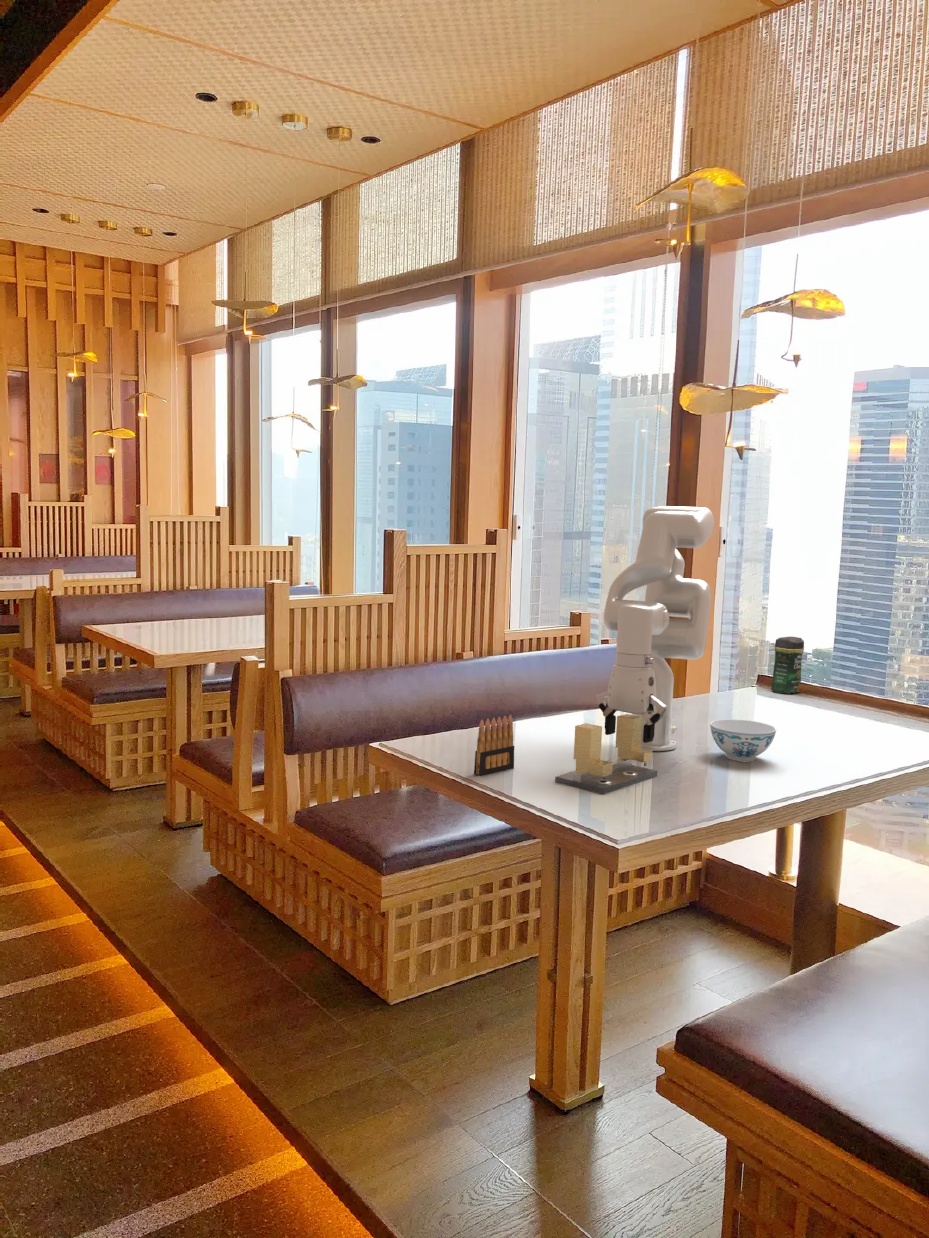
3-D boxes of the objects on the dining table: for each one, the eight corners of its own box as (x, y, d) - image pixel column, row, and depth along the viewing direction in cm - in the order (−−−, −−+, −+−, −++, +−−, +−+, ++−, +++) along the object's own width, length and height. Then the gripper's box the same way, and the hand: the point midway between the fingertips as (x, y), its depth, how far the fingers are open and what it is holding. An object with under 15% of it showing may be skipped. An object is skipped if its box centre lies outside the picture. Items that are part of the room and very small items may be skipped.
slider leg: (624, 758, 220) (626, 713, 219) (652, 764, 215) (654, 719, 214) (614, 761, 217) (617, 716, 216) (642, 767, 212) (645, 721, 211)
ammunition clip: (508, 766, 217) (510, 713, 216) (514, 768, 216) (516, 714, 214) (473, 774, 210) (475, 718, 208) (479, 776, 208) (482, 720, 207)
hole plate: (610, 765, 221) (613, 711, 220) (657, 775, 214) (660, 720, 212) (555, 781, 206) (557, 724, 204) (603, 794, 198) (606, 734, 197)
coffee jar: (788, 695, 320) (792, 638, 318) (767, 691, 326) (771, 636, 324) (804, 692, 327) (808, 637, 325) (783, 689, 333) (787, 634, 331)
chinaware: (780, 756, 236) (782, 725, 235) (765, 769, 223) (767, 736, 222) (718, 747, 243) (720, 716, 242) (700, 759, 230) (702, 726, 229)
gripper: (676, 664, 212) (672, 742, 214) (608, 654, 223) (604, 728, 225) (659, 667, 206) (654, 747, 208) (590, 657, 218) (586, 733, 220)
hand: (628, 737), depth 217 cm, fingers open, 9 cm apart
